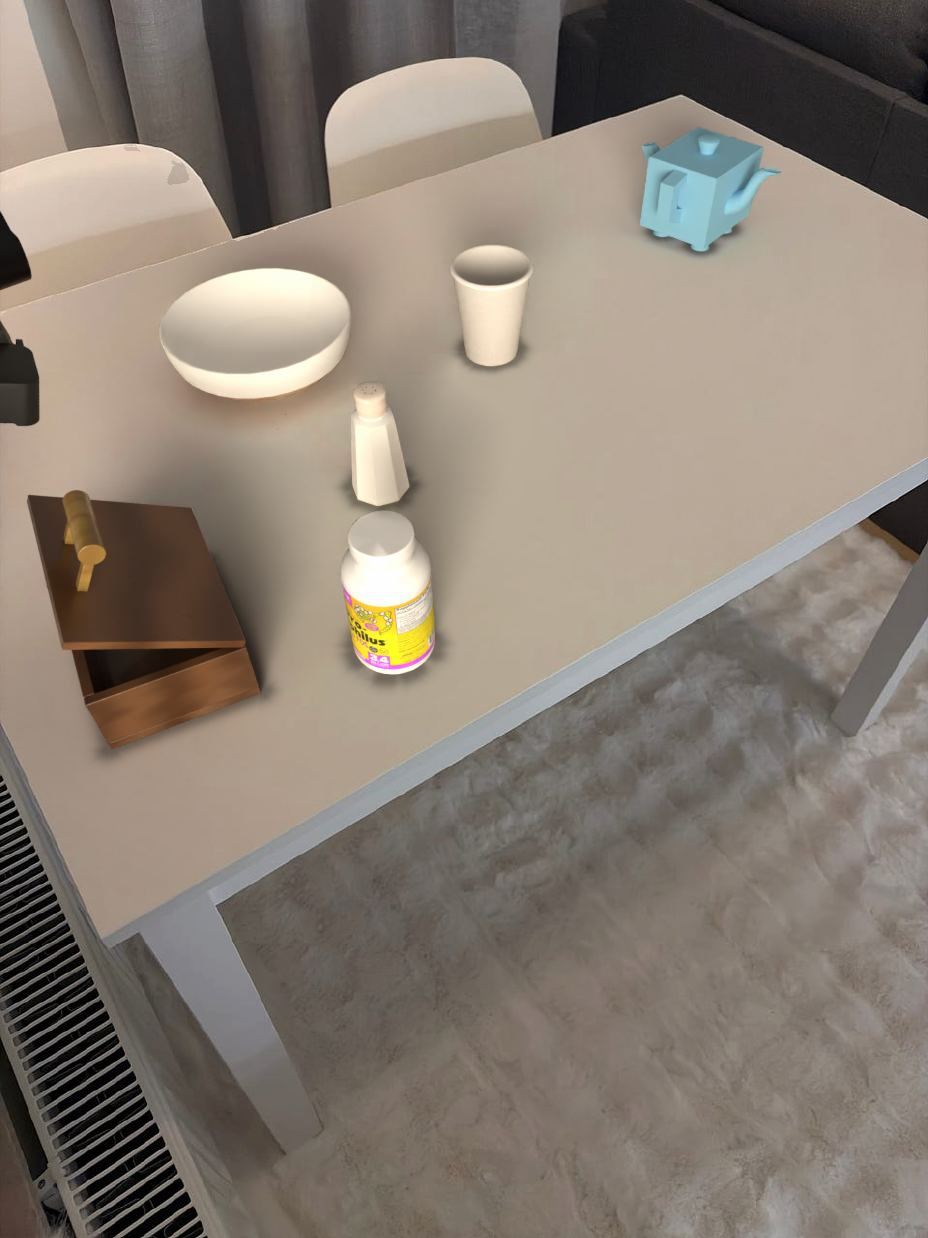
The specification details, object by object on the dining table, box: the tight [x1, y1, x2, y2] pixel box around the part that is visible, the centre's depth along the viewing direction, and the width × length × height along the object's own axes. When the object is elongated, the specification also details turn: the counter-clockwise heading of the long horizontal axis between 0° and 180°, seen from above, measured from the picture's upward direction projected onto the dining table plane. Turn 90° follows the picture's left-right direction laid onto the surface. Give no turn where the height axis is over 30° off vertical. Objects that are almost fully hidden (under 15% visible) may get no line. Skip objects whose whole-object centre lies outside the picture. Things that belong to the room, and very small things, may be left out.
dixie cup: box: [449, 244, 534, 367], centre depth 96 cm, size 8×8×10 cm
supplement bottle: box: [339, 510, 436, 675], centre depth 69 cm, size 7×7×13 cm
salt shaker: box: [350, 381, 410, 507], centre depth 82 cm, size 5×5×11 cm
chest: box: [71, 643, 262, 750], centre depth 72 cm, size 12×16×6 cm
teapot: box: [639, 126, 782, 252], centre depth 110 cm, size 16×18×11 cm
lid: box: [26, 489, 247, 651], centre depth 66 cm, size 12×16×5 cm
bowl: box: [158, 267, 352, 402], centre depth 96 cm, size 20×20×6 cm
